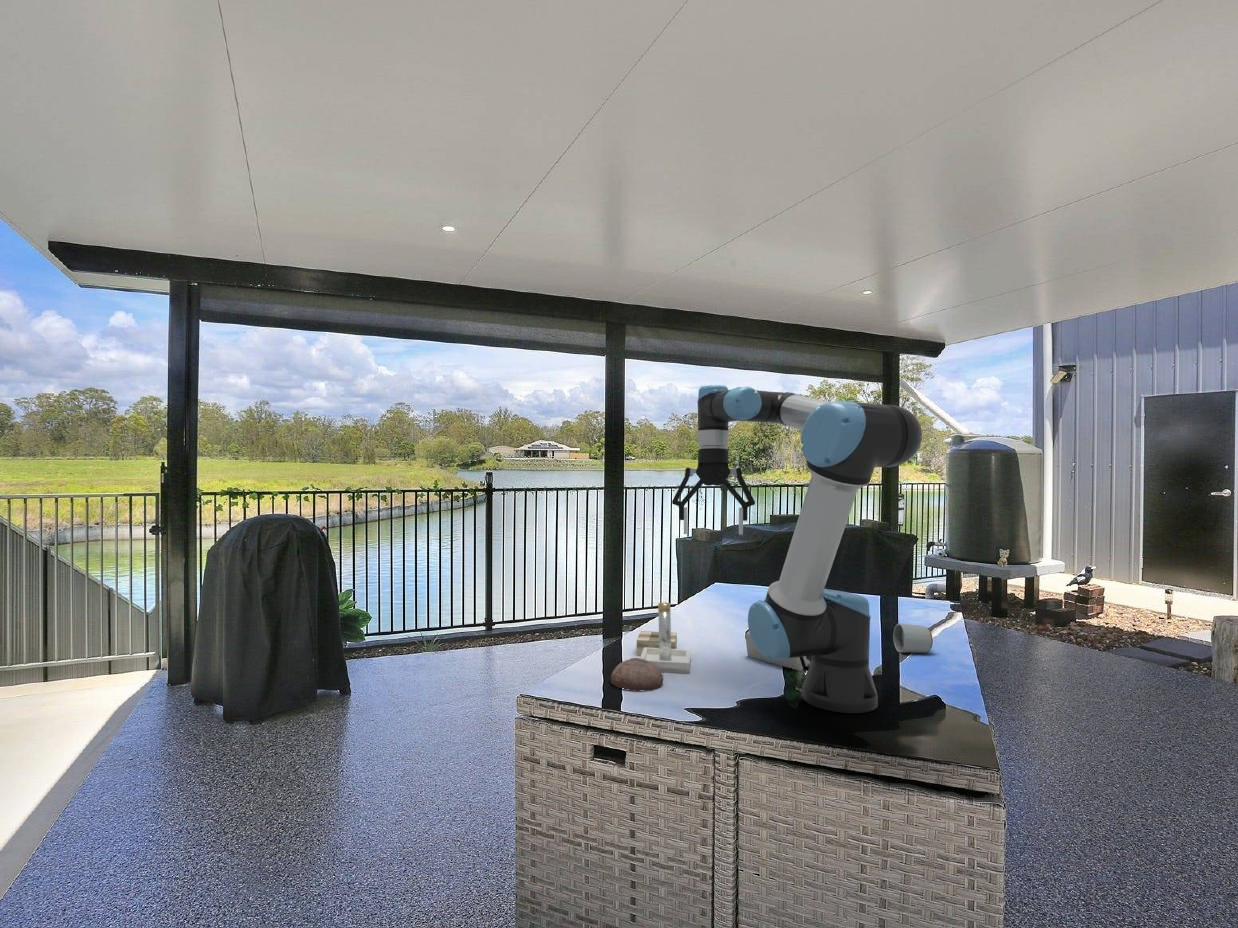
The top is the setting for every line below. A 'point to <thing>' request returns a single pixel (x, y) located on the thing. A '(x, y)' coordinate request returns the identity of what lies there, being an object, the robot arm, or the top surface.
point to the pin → (664, 631)
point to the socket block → (652, 641)
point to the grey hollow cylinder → (912, 638)
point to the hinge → (790, 663)
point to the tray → (676, 665)
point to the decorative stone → (637, 675)
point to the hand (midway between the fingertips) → (713, 534)
